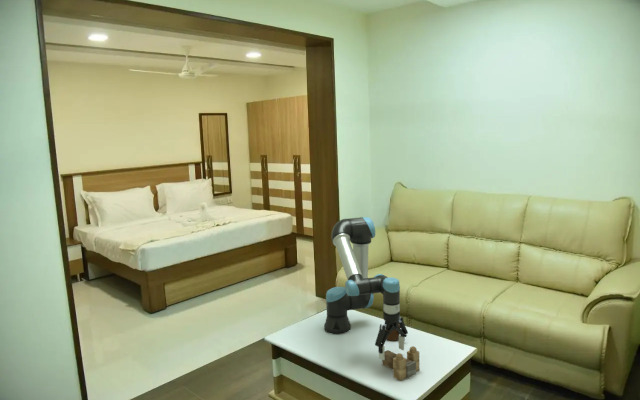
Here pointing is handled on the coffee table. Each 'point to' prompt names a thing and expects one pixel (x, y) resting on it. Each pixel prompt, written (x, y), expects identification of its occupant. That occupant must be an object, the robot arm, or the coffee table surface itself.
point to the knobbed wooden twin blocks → (406, 370)
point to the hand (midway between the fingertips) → (391, 354)
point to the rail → (391, 359)
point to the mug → (393, 335)
